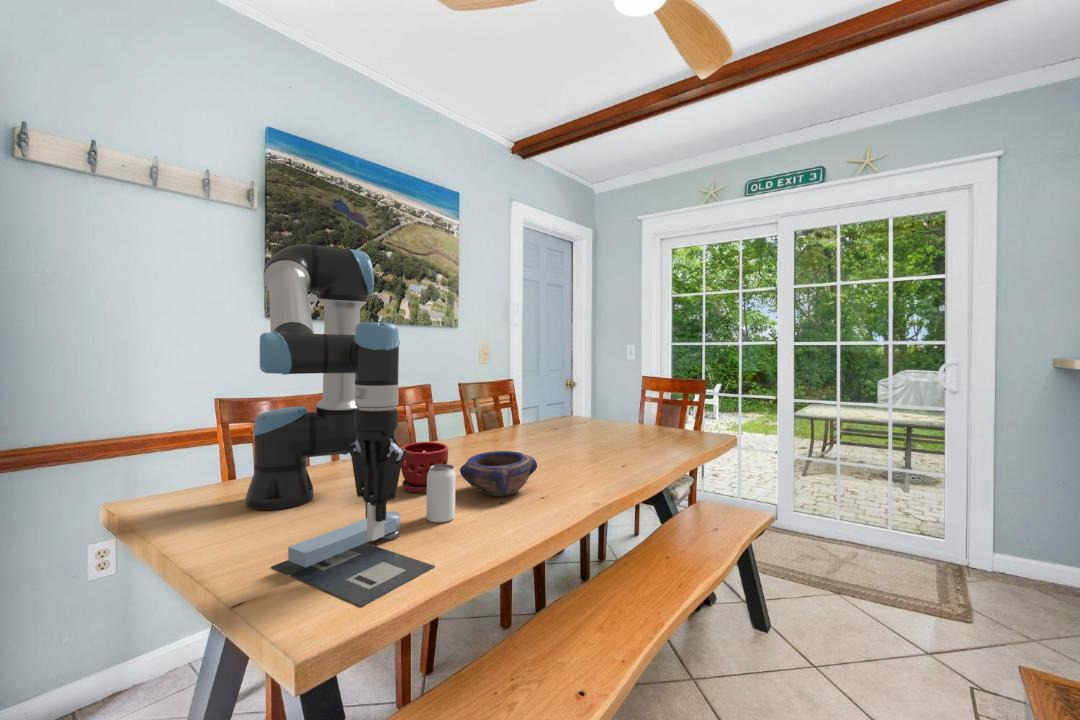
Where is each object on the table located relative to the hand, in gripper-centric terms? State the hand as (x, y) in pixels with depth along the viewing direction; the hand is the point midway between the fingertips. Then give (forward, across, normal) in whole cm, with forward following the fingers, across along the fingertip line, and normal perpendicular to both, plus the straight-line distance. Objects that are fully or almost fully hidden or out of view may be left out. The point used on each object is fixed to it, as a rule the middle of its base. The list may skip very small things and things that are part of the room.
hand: (375, 537), depth 87 cm
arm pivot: (+5, -8, +10) cm, 14 cm away
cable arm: (+3, -8, +1) cm, 9 cm away
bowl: (+5, -7, +48) cm, 49 cm away
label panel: (+5, -2, -3) cm, 6 cm away
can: (+5, -6, +24) cm, 26 cm away
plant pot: (+5, -26, +39) cm, 47 cm away
